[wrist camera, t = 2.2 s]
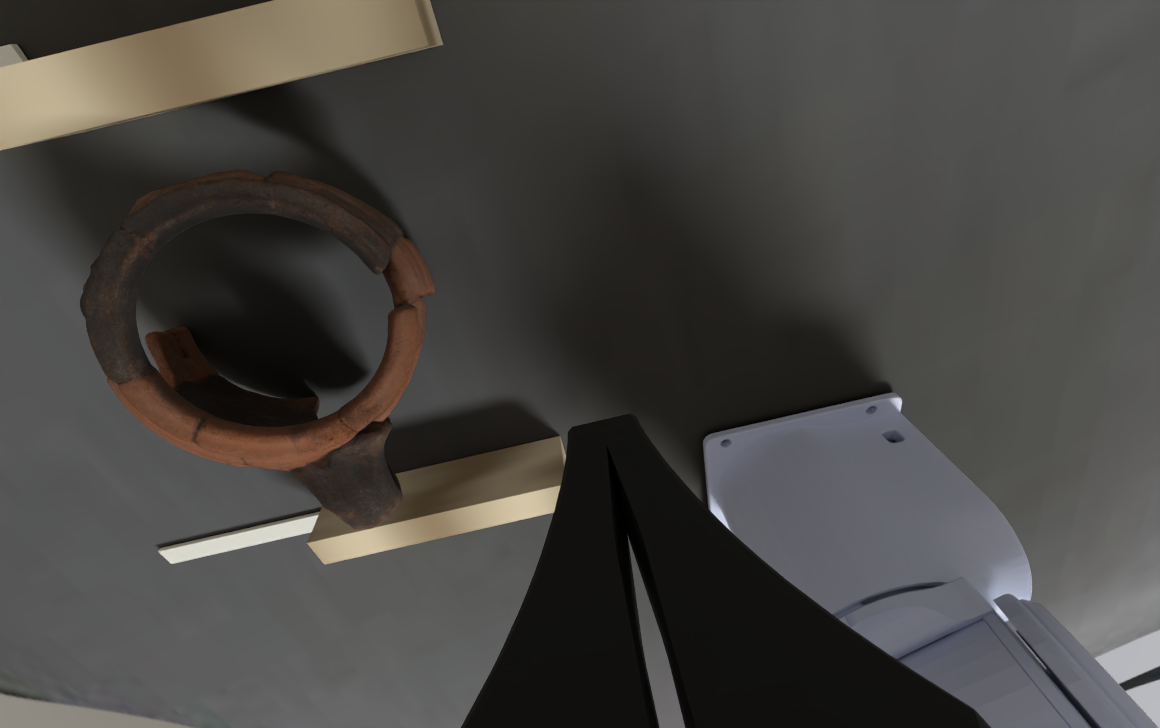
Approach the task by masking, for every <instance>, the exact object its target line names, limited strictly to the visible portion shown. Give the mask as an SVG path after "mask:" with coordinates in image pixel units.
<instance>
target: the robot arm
mask: <svg viewBox="0 0 1160 728" xmlns="http://www.w3.org/2000/svg"><path fill="white" fill-rule="evenodd" d="M901 405H902V399H901V398H900V397H899V396H898V395H897V394H896V393H886V394H882V395H878V396H873V397H869V398H865V399H860V400H856V401H852V402H847V403H843V404H838V405H834V406H830V407H825V408H821V409H817V410H812V411H808V412H803V413H799V414H795V415H790V416H786V417H782V418H777V419H773V420H769V421H764V422H760V423H755V424H751V425H747V426H742V427H738V428H734V429H729V430H725V431H720V432H716V433H712V434H709V435H708V436H706V437H705V439H704V440H703V451H704V462H705V474H706V486H707V498H708V508H707V507H706V506H705V505H704V504H703V503H702V502H701V501H700V500H699V499H698V498H697V497H696V495H695V494H694V493H693V492H692V491H691V490H690V489H689V488H688V487H687V486H686V484H685V483H684V482H683V481H682V480H681V479H680V477H679V476H678V475H677V474H676V473H675V472H674V470H673V469H672V468H671V467H670V466H669V464H668V463H667V462H666V461H665V459H664V458H663V457H662V456H661V454H660V453H659V452H658V450H657V449H656V448H655V446H654V445H653V444H652V442H651V441H650V439H649V438H648V436H647V435H646V433H645V432H644V430H643V428H642V427H641V425H640V423H639V422H638V420H637V418H636V417H635V416H634V415H632V414H626V415H622V416H618V417H613V418H609V419H605V420H600V421H596V422H592V423H587V424H583V425H579V426H574V427H572V428H571V429H570V430H569V432H568V444H567V453H566V460H565V466H564V472H563V477H562V482H561V486H560V490H559V494H558V498H557V502H556V507H555V511H554V514H553V518H552V521H551V524H550V528H549V531H548V534H547V537H546V540H545V544H544V547H543V550H542V553H541V556H540V559H539V562H538V565H537V567H536V570H535V573H534V576H533V578H532V581H531V584H530V586H529V589H528V591H527V593H526V596H525V598H524V601H523V603H522V606H521V608H520V611H519V613H518V615H517V617H516V619H515V622H514V624H513V626H512V628H511V631H510V633H509V635H508V637H507V639H506V642H505V644H504V646H503V648H502V650H501V652H500V654H499V656H498V659H497V661H496V663H495V665H494V667H493V669H492V671H491V673H490V675H489V676H488V678H487V680H486V682H485V684H484V686H483V688H482V689H481V691H480V693H479V695H478V697H477V699H476V701H475V702H474V704H473V706H472V708H471V710H470V712H469V714H468V716H467V717H466V719H465V721H464V723H463V725H462V727H461V728H659V723H658V719H657V714H656V710H655V705H654V700H653V696H652V691H651V687H650V682H649V677H648V673H647V668H646V663H645V657H644V651H643V645H642V639H641V632H640V624H639V617H638V609H637V602H636V594H635V587H634V580H633V572H632V565H631V557H630V550H629V543H628V537H629V540H630V543H631V546H632V549H633V552H634V555H635V558H636V561H637V564H638V567H639V570H640V573H641V576H642V579H643V582H644V585H645V588H646V591H647V594H648V597H649V600H650V603H651V606H652V609H653V612H654V615H655V618H656V621H657V624H658V627H659V630H660V633H661V636H662V639H663V643H664V646H665V649H666V653H667V656H668V660H669V663H670V667H671V672H672V676H673V680H674V684H675V688H676V692H677V696H678V700H679V704H680V708H681V712H682V716H683V720H684V724H685V728H1158V727H1157V725H1156V724H1155V723H1154V722H1153V721H1152V720H1151V719H1150V718H1149V717H1148V716H1147V715H1146V713H1145V712H1144V711H1143V710H1142V709H1141V708H1140V707H1139V706H1138V705H1137V704H1136V703H1135V701H1134V700H1133V699H1132V698H1131V697H1130V696H1129V695H1128V694H1127V693H1126V692H1125V691H1124V690H1123V688H1122V687H1121V686H1120V685H1119V684H1118V683H1117V682H1116V681H1115V680H1114V679H1113V678H1112V677H1111V676H1110V674H1109V673H1108V672H1107V671H1106V670H1105V669H1104V668H1103V667H1102V666H1101V665H1100V664H1099V663H1098V662H1097V661H1096V660H1095V659H1094V657H1093V656H1092V655H1091V654H1090V653H1089V652H1088V651H1087V650H1086V649H1085V648H1084V647H1083V646H1082V645H1081V644H1080V643H1079V642H1078V641H1077V640H1076V639H1075V638H1074V637H1073V636H1072V634H1071V633H1070V632H1069V631H1068V630H1067V629H1066V628H1065V627H1064V626H1063V625H1062V624H1061V623H1060V622H1059V621H1058V620H1057V619H1056V618H1055V617H1054V616H1053V615H1052V614H1051V613H1050V612H1049V611H1048V610H1047V609H1045V608H1044V607H1043V606H1042V605H1041V604H1039V603H1036V602H1032V601H1030V599H1031V594H1032V578H1031V571H1030V566H1029V563H1028V559H1027V557H1026V554H1025V552H1024V550H1023V547H1022V545H1021V543H1020V541H1019V539H1018V538H1017V536H1016V534H1015V532H1014V531H1013V529H1012V527H1011V526H1010V524H1009V523H1008V521H1007V520H1006V518H1005V517H1004V515H1003V514H1002V513H1001V512H1000V510H999V509H998V508H997V507H996V505H995V504H994V503H993V502H992V501H991V500H990V499H989V498H988V497H987V496H986V495H985V494H984V493H983V492H982V491H981V490H980V489H979V488H978V487H977V486H976V485H975V484H974V483H973V482H972V481H971V480H970V479H969V478H967V477H966V476H965V475H964V474H963V473H962V472H961V471H960V470H959V469H958V468H957V467H956V466H955V465H954V464H953V463H952V462H951V461H950V460H949V459H948V458H947V457H946V456H945V455H944V454H943V453H942V452H941V451H939V450H938V449H937V448H936V447H935V446H934V445H933V444H932V443H931V442H930V441H929V440H928V439H927V438H926V437H925V436H924V435H923V434H922V433H921V432H920V431H919V430H918V429H917V428H916V427H915V426H914V425H913V424H911V423H910V422H909V421H908V420H907V419H906V418H905V417H904V416H903V415H902V414H901V413H900V410H901ZM725 439H727V440H726V441H724V442H722V441H723V440H725ZM627 534H628V535H627ZM1008 620H1010V622H1011V623H1012V624H1013V625H1014V626H1015V627H1016V629H1017V631H1016V632H1017V633H1018V634H1019V635H1020V637H1021V638H1022V639H1023V640H1024V642H1025V643H1026V644H1027V645H1028V646H1029V648H1030V649H1031V650H1032V651H1033V652H1034V653H1035V655H1036V656H1037V657H1038V658H1039V659H1040V661H1041V662H1042V663H1043V664H1044V665H1045V667H1046V668H1047V669H1045V668H1044V667H1043V666H1042V664H1041V663H1040V662H1039V661H1038V660H1037V659H1036V657H1035V656H1034V655H1033V654H1032V653H1031V651H1030V650H1029V649H1028V648H1027V647H1026V646H1025V644H1024V643H1023V642H1022V641H1021V640H1020V638H1019V637H1018V636H1017V635H1016V634H1015V633H1014V631H1013V630H1012V629H1011V628H1010V627H1009V625H1008V624H1007V623H1006V622H1005V621H1008Z"/></svg>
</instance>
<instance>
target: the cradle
mask: <svg viewBox="0 0 1160 728" xmlns="http://www.w3.org/2000/svg"><path fill="white" fill-rule="evenodd" d="M440 45H443V42H442V39H441V36H440V32H439V29H438V26H437V22H436V19H435V16H434V12H433V9H432V6H431V2H430V0H273V1H269V2H265V3H260V4H256V5H252V6H248V7H244V8H240V9H236V10H232V11H228V12H224V13H220V14H216V15H212V16H208V17H204V18H199V19H195V20H191V21H187V22H183V23H179V24H175V25H171V26H167V27H163V28H159V29H155V30H151V31H147V32H143V33H138V34H134V35H130V36H126V37H122V38H118V39H114V40H110V41H106V42H102V43H98V44H94V45H90V46H86V47H82V48H77V49H73V50H69V51H65V52H61V53H57V54H53V55H49V56H45V57H41V58H37V59H33V60H29V61H25V62H21V63H16V64H12V65H8V66H4V67H0V150H5V149H9V148H14V147H18V146H23V145H28V144H32V143H37V142H41V141H46V140H51V139H55V138H60V137H64V136H69V135H74V134H78V133H82V132H87V131H91V130H95V129H99V128H103V127H107V126H111V125H115V124H119V123H124V122H128V121H132V120H136V119H140V118H144V117H148V116H152V115H156V114H161V113H165V112H169V111H173V110H177V109H181V108H185V107H189V106H193V105H198V104H202V103H206V102H210V101H214V100H218V99H222V98H226V97H230V96H235V95H239V94H243V93H247V92H251V91H255V90H259V89H263V88H267V87H272V86H276V85H280V84H284V83H288V82H292V81H296V80H300V79H305V78H309V77H313V76H317V75H321V74H325V73H329V72H333V71H337V70H342V69H346V68H350V67H354V66H358V65H362V64H366V63H370V62H374V61H379V60H383V59H387V58H391V57H395V56H399V55H403V54H407V53H411V52H416V51H420V50H424V49H428V48H432V47H436V46H440ZM565 460H566V454H565V451H564V447H563V444H562V441H561V437H560V436H557V437H553V438H549V439H544V440H540V441H536V442H531V443H527V444H523V445H518V446H514V447H509V448H505V449H501V450H496V451H492V452H488V453H483V454H479V455H475V456H470V457H466V458H462V459H457V460H453V461H449V462H444V463H440V464H435V465H431V466H427V467H422V468H418V469H414V470H409V471H405V472H401V473H396V476H397V478H398V480H399V483H400V486H401V491H402V495H403V498H402V502H401V504H400V505H399V506H398V508H397V509H396V511H395V512H394V514H393V515H392V516H391V517H390V518H388V519H385V520H383V521H382V522H380V523H379V524H378V525H377V526H375V527H374V528H371V529H353V528H352V527H351V526H349V525H348V524H346V523H345V522H343V521H342V520H341V519H340V518H339V517H338V516H336V515H335V514H334V513H332V512H330V511H329V510H327V509H326V508H324V507H323V505H322V508H321V510H320V513H319V515H318V518H317V520H316V523H315V525H314V528H313V530H312V532H311V535H310V537H309V540H308V542H307V544H308V545H309V546H310V547H311V549H312V550H313V551H314V552H315V553H316V555H317V556H318V557H319V558H320V560H321V561H322V562H323V563H324V565H325V564H329V563H333V562H338V561H342V560H347V559H351V558H355V557H360V556H364V555H369V554H373V553H377V552H382V551H386V550H390V549H395V548H399V547H404V546H408V545H412V544H417V543H421V542H426V541H430V540H434V539H439V538H443V537H448V536H452V535H456V534H461V533H465V532H470V531H474V530H478V529H483V528H487V527H492V526H496V525H500V524H505V523H509V522H514V521H518V520H522V519H527V518H531V517H536V516H540V515H544V514H549V513H553V512H554V511H555V507H556V502H557V498H558V494H559V490H560V486H561V482H562V477H563V472H564V466H565Z"/></svg>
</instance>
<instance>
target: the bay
mask: <svg viewBox="0 0 1160 728" xmlns="http://www.w3.org/2000/svg"><path fill="white" fill-rule="evenodd" d="M25 61H28V59H27V58H26V56H25V55H24V53H23V52H22V51H21V49H20V48H19V46H18V45H17V44H9V45H5V46H1V47H0V67H4V66H8V65H12V64H16V63H21V62H25ZM319 513H320V512H316V513H311V514H307V515H303V516H298V517H294V518H289V519H285V520H281V521H276V522H272V523H268V524H263V525H259V526H255V527H250V528H246V529H241V530H237V531H233V532H228V533H224V534H220V535H215V536H211V537H207V538H202V539H198V540H193V541H189V542H185V543H180V544H176V545H172V546H167V547H163V548H160V549H159V551H158V552H159V553H160V554H161V555H162V556H163V557H164V558H166V559H167V560H168V561H169V562H170V563H171V564H174V563H178V562H182V561H187V560H191V559H196V558H200V557H204V556H209V555H213V554H217V553H222V552H226V551H231V550H235V549H239V548H244V547H248V546H252V545H257V544H261V543H266V542H270V541H274V540H279V539H283V538H287V537H292V536H296V535H301V534H305V533H309V532H312V530H313V528H314V525H315V523H316V520H317V518H318V515H319Z"/></svg>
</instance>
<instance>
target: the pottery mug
mask: <svg viewBox="0 0 1160 728" xmlns="http://www.w3.org/2000/svg"><path fill="white" fill-rule="evenodd" d="M248 213H257V214H273V215H278V216H282V217H286V218H290V219H294V220H298V221H301V222H304V223H307V224H309V225H312V226H314V227H317V228H319V229H321V230H323V231H325V232H327V233H329V234H330V235H332V236H334V237H335V238H337V239H338V240H340V241H341V242H342V243H344V244H345V245H346V246H347V247H349V248H350V249H351V250H352V251H353V252H354V253H355V254H357V255H358V256H359V258H360V259H361V260H362V261H363V262H364V263H365V264H366V266H367V267H368V268H369V269H370V270H371V271H372V272H373V273H374V274H380V273H382V272H383V274H384V277H385V279H386V281H387V283H388V285H389V287H390V290H391V292H392V296H393V302H394V306H395V308H394V310H392V311H391V312H390V313H389V315H388V339H387V345H386V350H385V353H384V356H383V359H382V362H381V364H380V366H379V368H378V370H377V371H376V373H375V375H374V376H373V378H372V379H371V381H370V382H369V383H368V385H367V386H366V387H365V388H364V389H363V390H362V391H361V393H359V394H358V395H357V396H356V397H355V398H354V399H353V400H351V401H350V402H348V403H347V404H346V405H344V406H343V407H341V408H340V409H339V410H338V411H336V412H335V413H333V414H330V415H328V416H326V417H323V418H320V419H318V417H317V415H316V414H317V412H318V409H319V399H318V397H315V396H314V397H305V398H297V399H291V398H274V397H269V396H265V395H261V394H258V393H254V392H251V391H247V390H245V389H242V388H240V387H238V386H236V385H234V384H232V383H231V382H229V381H228V380H226V379H225V378H223V377H222V376H220V375H219V374H218V372H217V371H216V370H215V369H214V368H213V367H212V366H211V365H210V364H209V363H208V361H207V360H206V358H205V357H204V356H203V354H202V353H201V352H200V350H199V349H198V347H197V345H196V343H195V341H194V340H193V338H192V335H191V333H190V331H189V330H188V329H187V328H186V327H177V328H174V329H169V330H166V331H164V332H152V333H148V334H147V335H146V337H145V340H146V343H147V346H148V349H149V351H150V353H151V355H152V356H153V358H154V360H155V362H156V364H157V365H158V368H159V371H160V373H159V372H158V370H157V369H156V368H154V367H153V366H152V365H151V364H150V362H149V360H148V358H147V356H146V354H145V352H144V349H143V347H142V345H141V342H140V338H139V334H138V329H137V323H136V301H137V295H138V290H139V287H140V284H141V280H142V278H143V275H144V273H145V271H146V269H147V267H148V265H149V264H150V262H151V261H152V259H153V257H154V255H155V254H156V253H157V252H159V251H160V250H161V249H162V248H163V247H164V246H165V245H166V244H167V243H169V242H170V241H171V240H172V239H174V238H175V237H176V236H178V235H179V234H181V233H182V232H184V231H186V230H187V229H189V228H191V227H193V226H195V225H197V224H200V223H202V222H205V221H208V220H211V219H215V218H219V217H224V216H229V215H234V214H248ZM434 293H435V286H434V283H433V280H432V278H431V275H430V273H429V270H428V268H427V266H426V264H425V262H424V260H423V258H422V256H421V254H420V253H419V251H418V250H417V248H416V246H415V245H414V243H413V242H412V241H411V240H410V239H406V238H404V234H403V231H402V229H401V228H400V227H399V225H398V224H397V223H396V222H395V221H393V220H392V219H390V218H389V217H387V216H385V215H384V214H383V213H381V212H380V211H378V210H377V209H375V208H373V207H372V206H370V205H368V204H366V203H364V202H363V201H361V200H359V199H358V198H356V197H354V196H352V195H350V194H348V193H346V192H344V191H342V190H340V189H337V188H335V187H333V186H330V185H328V184H325V183H322V182H320V181H316V180H313V179H310V178H305V177H302V176H298V175H294V174H291V173H286V172H273V173H271V175H270V176H269V177H264V176H260V175H257V174H255V173H253V172H250V171H246V170H234V171H228V172H218V173H214V174H210V175H206V176H203V177H197V178H194V179H192V180H189V181H186V182H183V183H179V184H175V185H171V186H168V187H164V188H162V189H158V190H154V191H151V192H149V193H148V194H146V195H144V196H142V197H141V198H139V199H137V200H136V203H135V206H134V207H133V208H132V209H131V211H130V214H129V215H128V216H126V218H125V219H124V221H123V222H122V224H121V227H120V229H119V230H117V231H115V232H114V233H113V234H112V236H111V237H110V238H109V240H108V242H107V243H106V245H105V246H104V248H103V249H102V251H101V253H100V256H99V257H98V258H97V259H96V260H95V262H94V263H93V264H92V265H91V274H90V276H89V278H88V279H87V282H86V283H85V285H84V287H83V294H82V296H81V299H80V307H81V312H82V314H83V315H84V317H85V319H86V326H87V332H88V335H89V339H90V343H91V346H92V348H93V350H94V353H95V355H96V358H97V359H98V361H99V363H100V365H101V367H102V369H103V371H104V373H105V375H106V376H107V377H108V379H107V381H108V383H109V385H110V386H111V388H112V390H113V391H114V393H115V394H116V396H117V397H118V399H119V400H120V401H121V402H122V404H123V405H124V406H125V407H126V408H127V409H128V410H129V411H130V412H131V413H132V414H133V415H134V416H135V417H136V418H137V419H138V420H139V421H140V422H141V423H143V424H144V425H145V426H146V427H147V428H149V429H150V430H152V431H153V432H154V433H156V434H157V435H159V436H160V437H162V438H163V439H165V440H167V441H168V442H170V443H172V444H174V445H175V446H178V447H180V448H182V449H184V450H186V451H188V452H191V453H193V454H195V455H198V456H201V457H203V458H206V459H209V460H213V461H216V462H220V463H226V464H228V465H231V466H237V467H249V466H250V467H261V468H265V469H276V470H281V471H290V473H291V474H292V475H294V476H295V477H297V478H298V479H299V480H300V481H301V482H302V483H303V484H304V485H305V486H306V487H307V488H308V489H309V490H310V491H311V492H312V493H313V495H314V496H315V497H316V498H317V499H318V500H319V502H320V503H321V504H322V505H323V507H324V508H326V509H327V510H329V511H330V512H332V513H334V514H335V515H336V516H338V517H339V518H340V519H341V520H342V521H343V522H345V523H346V524H348V525H349V526H351V527H352V528H353V529H371V528H374V527H375V526H377V525H378V524H379V523H380V522H382V521H383V520H385V519H388V518H390V517H391V516H392V515H393V514H394V512H395V511H396V509H397V508H398V506H399V505H400V504H401V502H402V498H403V495H402V491H401V486H400V483H399V480H398V478H397V476H396V474H395V472H394V470H393V468H392V466H391V463H390V461H389V458H388V456H387V454H386V451H385V449H384V444H385V441H386V438H387V436H388V434H389V433H390V430H391V428H392V423H391V422H390V419H389V418H388V416H389V415H390V413H391V412H392V410H393V409H394V407H395V406H396V405H397V403H398V401H399V400H400V398H401V396H402V394H403V392H404V390H405V389H406V387H407V385H408V384H409V382H410V380H411V378H412V375H413V373H414V369H415V367H416V364H417V361H418V357H419V353H420V351H421V348H422V345H423V342H424V335H425V323H426V312H425V303H424V300H423V296H424V295H426V294H427V295H432V294H434Z"/></svg>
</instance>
